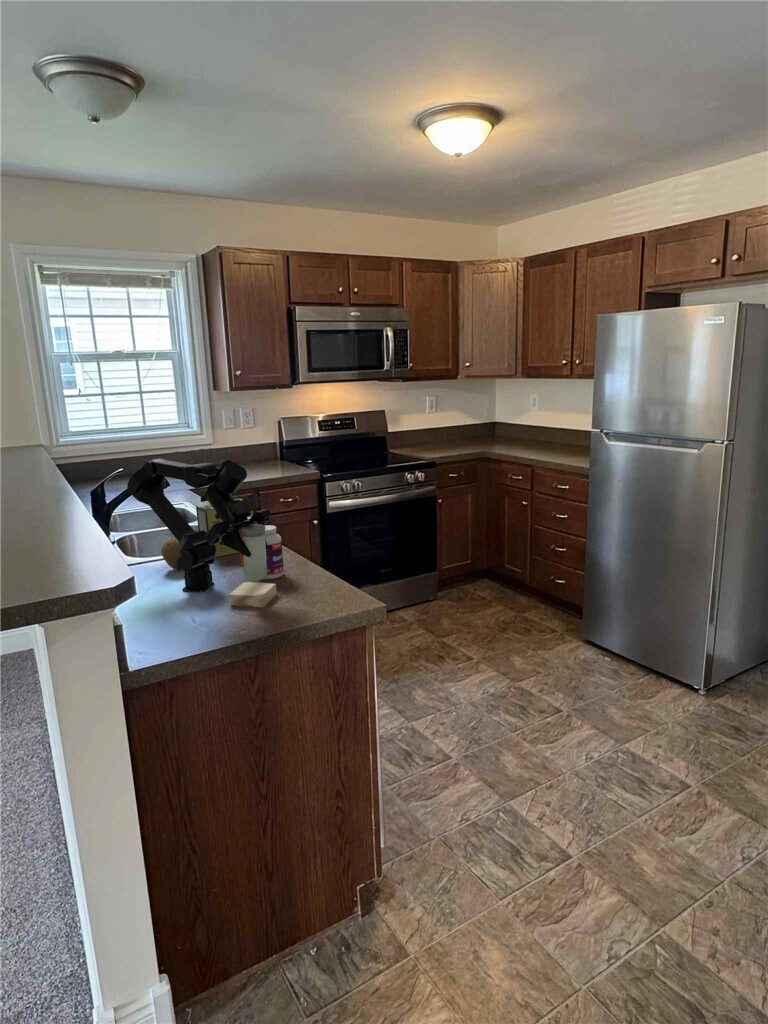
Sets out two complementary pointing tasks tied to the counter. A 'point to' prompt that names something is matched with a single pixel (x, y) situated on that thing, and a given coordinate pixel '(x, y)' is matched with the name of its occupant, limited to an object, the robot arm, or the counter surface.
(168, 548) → the natural sponge
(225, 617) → the counter surface
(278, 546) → the pill bottle
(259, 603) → the maple board
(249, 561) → the spice jar
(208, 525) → the protein box
